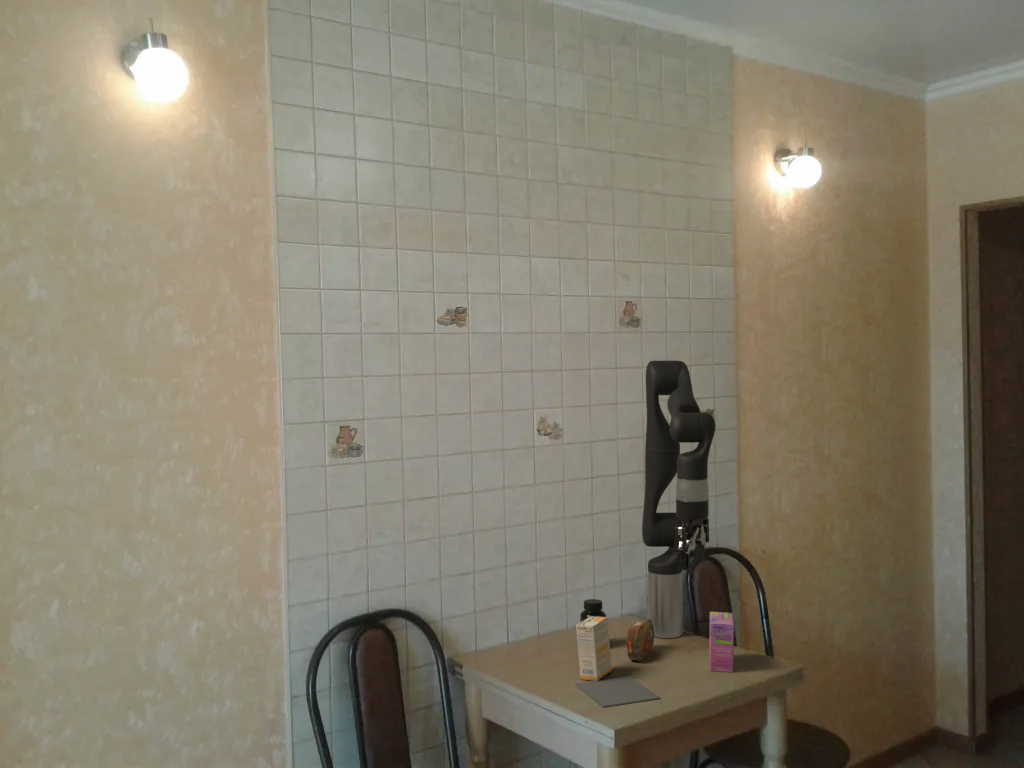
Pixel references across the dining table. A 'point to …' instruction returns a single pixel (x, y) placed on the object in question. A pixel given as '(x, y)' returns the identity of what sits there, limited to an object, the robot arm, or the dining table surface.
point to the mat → (617, 691)
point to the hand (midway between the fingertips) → (692, 565)
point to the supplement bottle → (592, 609)
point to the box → (721, 642)
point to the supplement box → (593, 648)
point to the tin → (640, 640)
